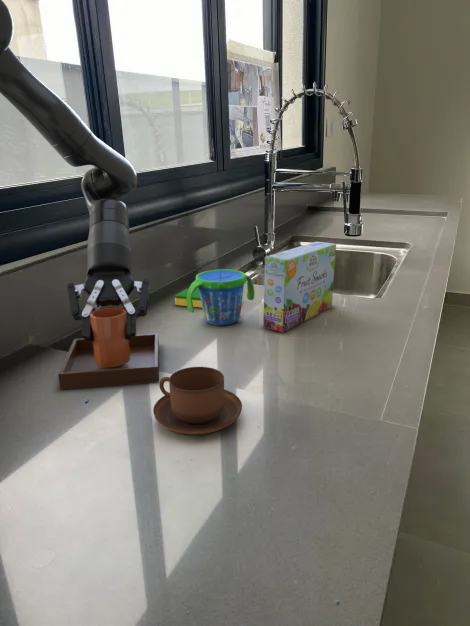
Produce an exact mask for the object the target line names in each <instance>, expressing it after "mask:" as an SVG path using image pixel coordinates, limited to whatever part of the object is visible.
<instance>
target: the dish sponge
mask: <svg viewBox="0 0 470 626" xmlns="http://www.w3.org/2000/svg"><path fill="white" fill-rule="evenodd" d="M188 290H189V287H188V288H186V289H184V290H182V291H181V292H179V293H177V294H175V295H174V304H175V306H181V307H187V302H186V301H187V293H188ZM192 303H193V308H201V309H203V308H202V303H201V298H200V292H199V289H198V288H196V289H195V291H194V292H193V294H192Z"/></svg>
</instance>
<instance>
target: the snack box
mask: <svg viewBox="0 0 470 626" xmlns="http://www.w3.org/2000/svg"><path fill="white" fill-rule="evenodd" d="M336 250H337V243H331V242H326V241H325V242H324V241H314V242H310V243H307V244H304V245H300V246H296V247H293V248H291V249H287V250H284V251H280V252H277V253H273V254H270V255H266V256H264V279H263V282H264V283H263V318H262V319H263V320H262V321H263V323H262V324H263V325H262V327H263V328H266V329H269V330H272V331H276V332H279V333H285V332H287V331H288V330H290V329H292V328H294V327H297V326H298V325H300V324H302V323H304V322H306V321H308V320H310V319H312V318H314V317H316V316H318V315H320V314H321V313H323V312H326V311H327V310H329V309H331V308H332V307H333V295H334V281H335V280H334V279H335V267H336V253H337V252H336Z"/></svg>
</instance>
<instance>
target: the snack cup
mask: <svg viewBox="0 0 470 626" xmlns="http://www.w3.org/2000/svg"><path fill="white" fill-rule="evenodd" d="M245 284H246V286H247V291H246V298H247V300H249V301H253V300H254V299H255V296H256V295H255V292H256V291H255V286H254V282H253V279H252V278H251V277H250V276H249V275H248V274H246V273H245V272H243V271H241V270H238V269H227V268H225V269H222V268H220V269H211V270H205V271H202V272H199V273H197V274H196V275H195V280H193V282H192V283H191V284H190V286H189V287H188V288H189V290H188V293H187V301H186V302H187V306H186V308H187V310H188V311H189V313H192V314H193V313H195V307H193V303H192V294H193V292H194V291H195V289H199V292H200V298H201V303H202V308H201V309H202V312H203V318H204V320H205V321H206V323H207V324H210V325H214V326H228V325H229V326H230V325H233V324H235V323H238V322H239V320H240V318H241V314H242V313H241V312H242V304H243V296H244V286H245Z"/></svg>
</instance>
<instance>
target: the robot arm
mask: <svg viewBox="0 0 470 626" xmlns="http://www.w3.org/2000/svg"><path fill="white" fill-rule="evenodd" d="M14 29H15V25H14V19H13V15H12V13H11V11H10V9H9V7H8V6H7V5H6V3H5V2H4V1H3V0H0V94H1V95H2V96H3V97H4V98H5V99H6V101H8V102H9V103H10V104H11V105H12V106H13V107H14V108H15V109H16V110H17V111H18V112H19V113H20V114H21V115H22V116H23V117H24V118H25V119H26V120H27V122H29V123H30V125H31V126H32V127H34V129H35V130H36V131H37V132H38V133H39V134H40V135H41V136H42V137H43V139H45V141H46V142H47V143H48V144H49V145H50V146H51V147H52V148H53V149H54V150H55V152H57V153H58V154H59V156H60V157H61V158H62V159H63V160H64V161H65V162H66V163H67V164H68V165H70V166H71V167H74V168H77V167H78V168H79V167H85V166H93V167H92V168H90V169H88V170H87V171H86V172H85V173H84V174H83V176H82V179H81V184H80V187H81V192H82V194H83V196H84V200H85V204H86V206H87V211H88V213H89V228H88V229H89V231H88V238H87V255H86V257H87V258H86V260H87V261H86V279H85V281H84V282H83V283H81V284H80V283H79V284H75V283H73V282H69V283H68V284H67V285H66V289H67V295H68V296H67V297H68V302H69V307H70V308H69V309H70V310H69V311H70V313H71V316H72V317H73V320H75V321H81V335H82V337H83V338H84V339H85V340H87V342H88V343H92V332H91V324H90V313H91V312H92V311H94V310H97V309H101V307H109V306H114V307H116V306H117V307H118V306H121V308H123V309H125V310H126V313H127V338H128V340H132V337H133V336H136V335H137V319H138V318H140V317H146V316H147V314H148V308H149V301H150V294H151V293H150V291H151V285H150V280H149V279H147V278H144V279H143V280H142V281H139V280H134V278H133V276H132V252H133V251H132V250H133V249H132V242H131V241H132V240H131V236H130V216H129V215H130V214H129V210H128V207H127V205H126V203H124V202H123V201H122V200H119V199H120V198H122V197H125V196H126V195H129V194H130V193H132V192H133V191H135V190H136V188H137V185H138V175H137V171H136V170H135V168H134V167H133V165H132V164H131V162H130V161H128V159H127V158H126V157H124V156H123V155H122V154H120V153H119V152H117V151H116V150H115V149H113V148H112V147H111V146H109V145H108V144H106V143H105V142H104V141H102V140H101V139H100V138H98V137H97V136H96V135H95V134H94V133H93V132H92V131H91V129H90V128H89V127H88V126H87V124H86V123H85V122H84V121H83V120H82V118H81V117H80V116H79V114H77V113H76V112H75V110H74V109H72V107H71V106H70V105H69V104H67V102H65V100H63V99H62V98H61V97H60V96H59V95H57V94H56V93H55V92H54V91H53V90H51V89H50V88H49V87H48V86H47V85H46V84H45V83H43V82H42V81H41V80H40V79H39V78H38V77H36V75H34V74H33V72H31V71H30V70H29V69H28V68H27V67H26V66H25V65H24V63H23V62H22V61H21V60H20V58H18V56H17V55H16V54H15V52H14V51H13V50H12V48H11V47H10V45H11V43H12V40H13V36H14V32H15V31H14ZM135 289H136V292H137V294H138V295H139V299H138V301H139V302H138V306H135V307H134V305H133V304H132V302H131V300H130V298H129V296H130V294H132V292H133V291H134V290H135ZM84 292H86V294H87V295H88V296H89V297H88V298H87V301H86V304H85V306H84V308H83V309H81V308H80V301H79V299H81V298H82V296H83V293H84Z"/></svg>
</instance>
